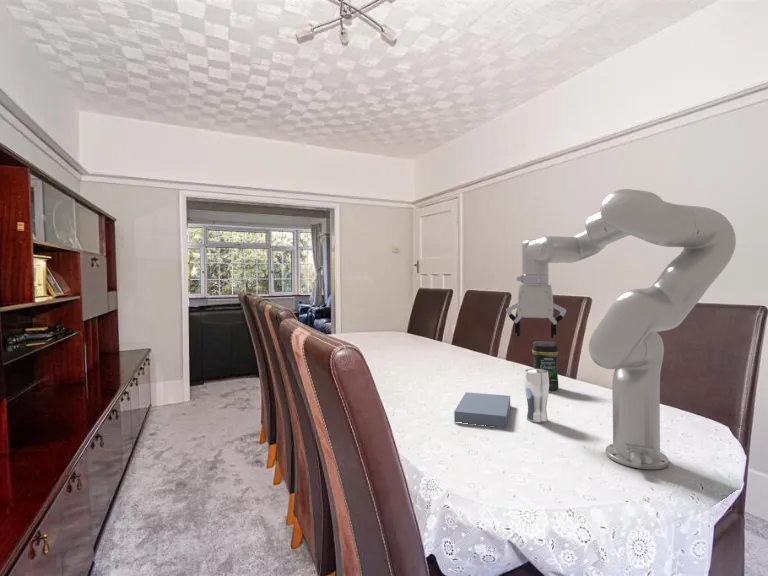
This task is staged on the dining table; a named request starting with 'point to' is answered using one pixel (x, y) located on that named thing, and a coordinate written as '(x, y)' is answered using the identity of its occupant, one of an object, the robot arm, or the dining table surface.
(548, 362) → the coffee jar
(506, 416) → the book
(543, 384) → the beer glass
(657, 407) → the robot arm
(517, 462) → the dining table surface
